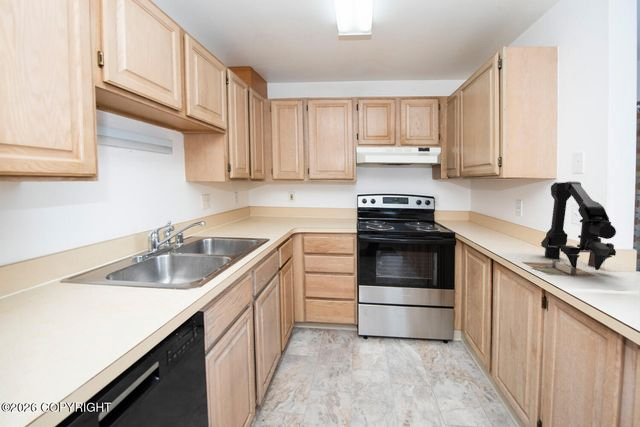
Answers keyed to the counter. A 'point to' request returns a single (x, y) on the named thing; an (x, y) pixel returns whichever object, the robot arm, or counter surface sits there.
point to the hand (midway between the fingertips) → (585, 269)
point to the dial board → (555, 269)
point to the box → (591, 260)
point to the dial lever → (564, 267)
